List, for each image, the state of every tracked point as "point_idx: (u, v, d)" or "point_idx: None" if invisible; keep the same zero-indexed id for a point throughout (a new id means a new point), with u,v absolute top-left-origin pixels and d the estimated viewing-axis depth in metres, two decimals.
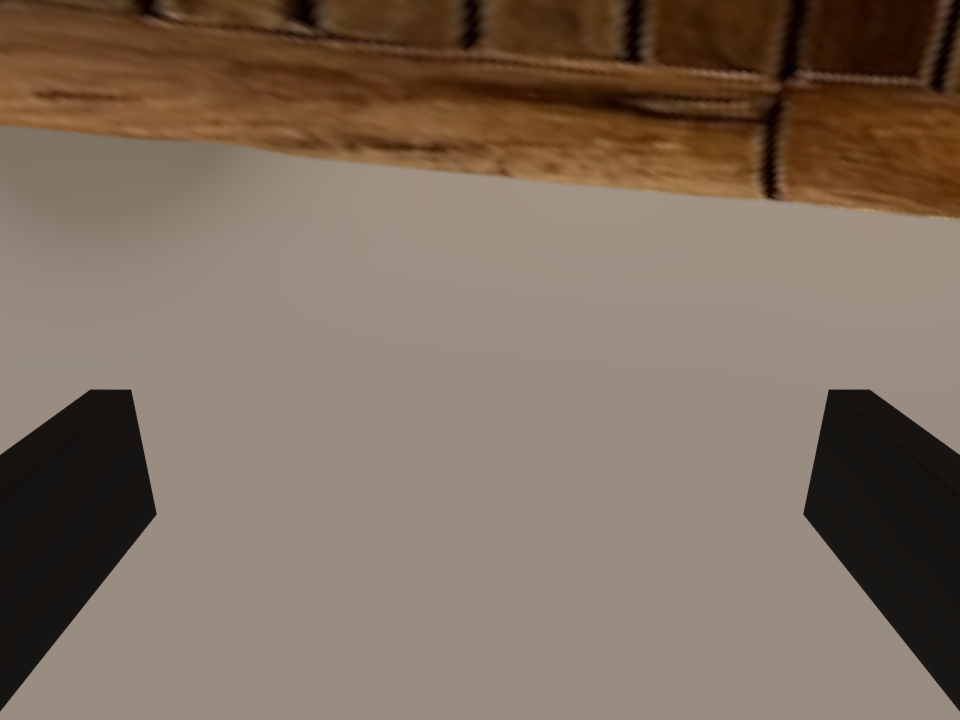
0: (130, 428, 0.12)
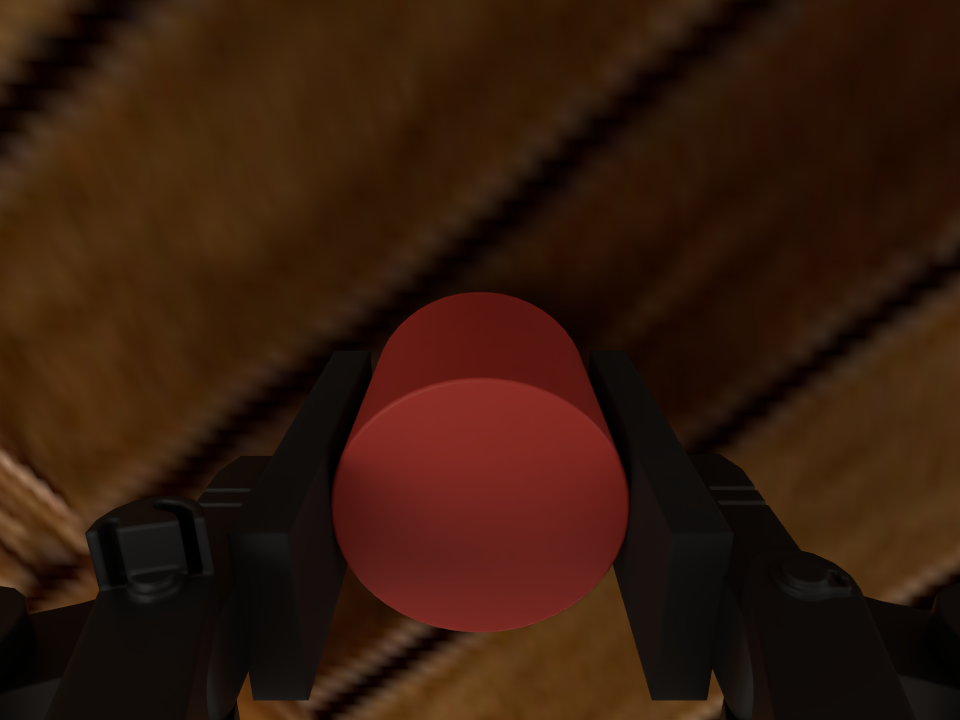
0: None
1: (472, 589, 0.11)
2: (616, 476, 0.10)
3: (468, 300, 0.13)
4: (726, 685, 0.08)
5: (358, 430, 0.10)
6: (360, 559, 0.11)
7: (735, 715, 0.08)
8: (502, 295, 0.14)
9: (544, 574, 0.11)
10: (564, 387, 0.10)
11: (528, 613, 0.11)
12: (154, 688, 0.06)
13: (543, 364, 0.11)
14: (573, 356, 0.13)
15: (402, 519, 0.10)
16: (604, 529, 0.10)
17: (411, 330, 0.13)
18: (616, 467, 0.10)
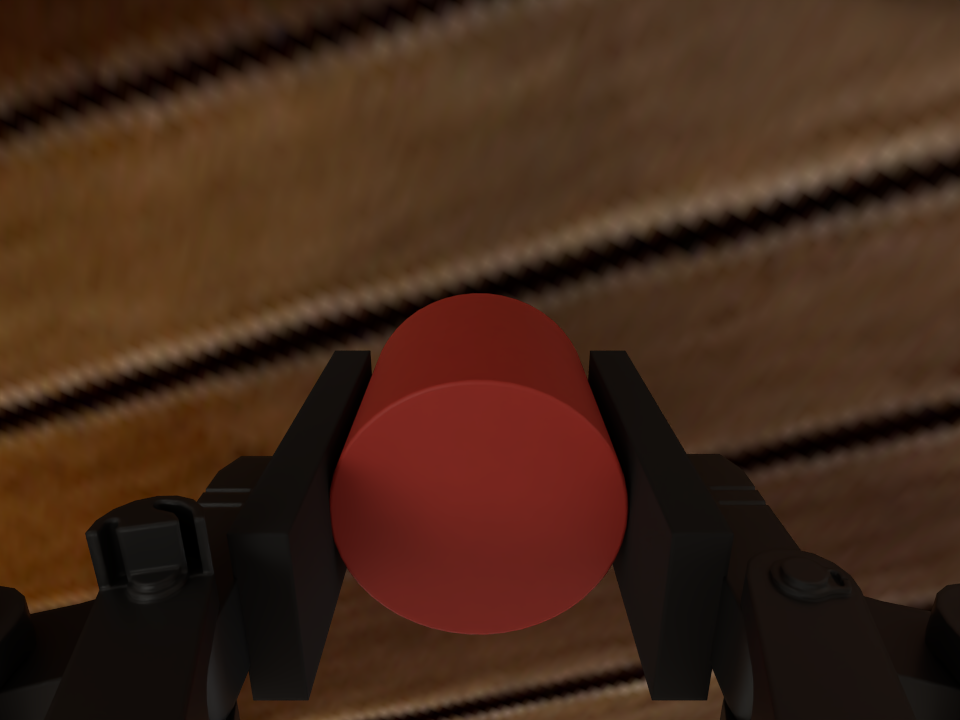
0: None
1: (470, 591, 0.11)
2: (615, 478, 0.10)
3: (467, 301, 0.13)
4: (726, 685, 0.08)
5: (356, 432, 0.10)
6: (358, 561, 0.11)
7: (734, 715, 0.08)
8: (501, 296, 0.14)
9: (542, 576, 0.11)
10: (562, 388, 0.10)
11: (527, 616, 0.11)
12: (154, 688, 0.06)
13: (542, 366, 0.11)
14: (572, 358, 0.13)
15: (401, 521, 0.10)
16: (603, 532, 0.10)
17: (410, 332, 0.13)
18: (615, 469, 0.10)
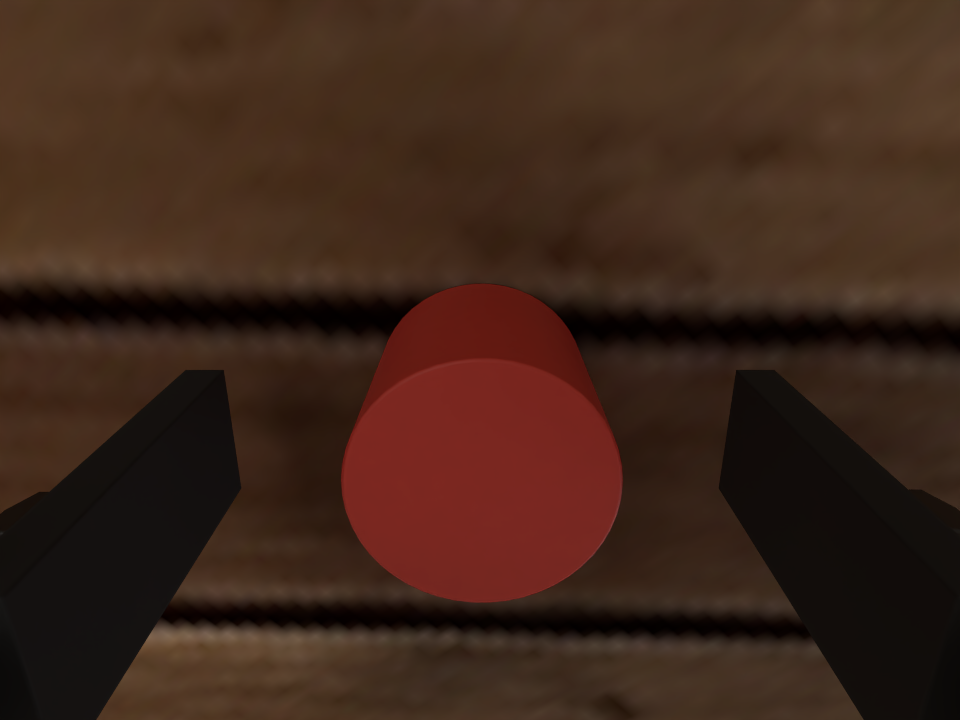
0: (223, 407, 0.13)
1: (474, 560, 0.12)
2: (610, 451, 0.11)
3: (470, 291, 0.14)
4: None
5: (368, 408, 0.11)
6: (369, 531, 0.11)
7: None
8: (502, 286, 0.14)
9: (542, 546, 0.11)
10: (560, 367, 0.11)
11: (527, 584, 0.12)
12: None
13: (541, 347, 0.11)
14: (570, 343, 0.13)
15: (408, 493, 0.11)
16: (598, 503, 0.11)
17: (416, 319, 0.13)
18: (610, 443, 0.11)
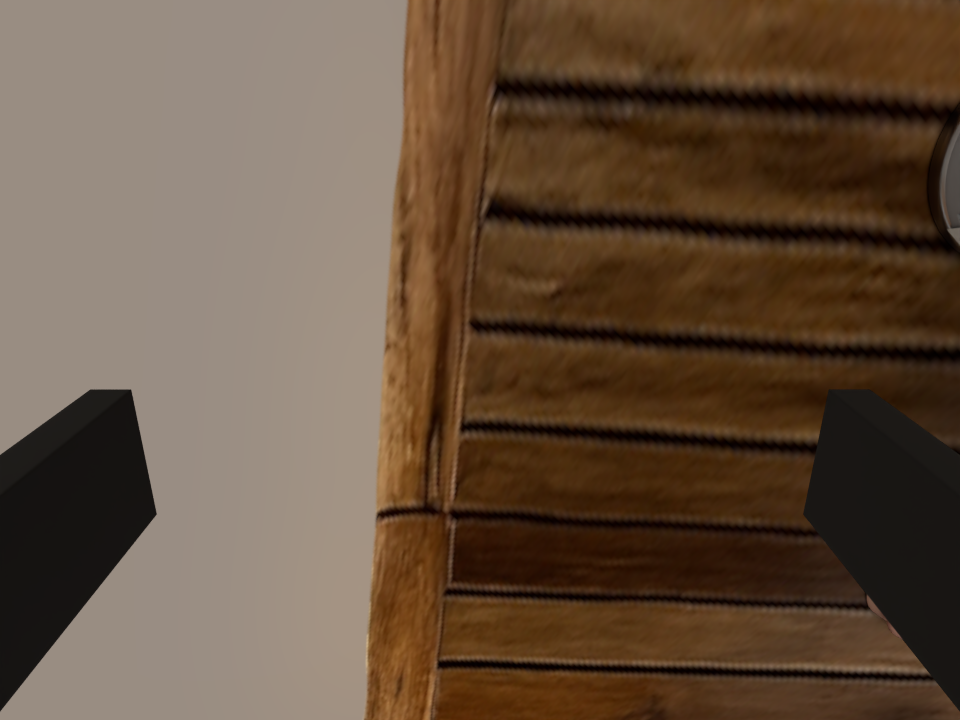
0: (130, 429, 0.12)
1: None
2: None
3: None
4: None
5: None
6: None
7: None
8: None
9: None
10: None
11: None
12: None
13: None
14: None
15: None
16: None
17: None
18: None
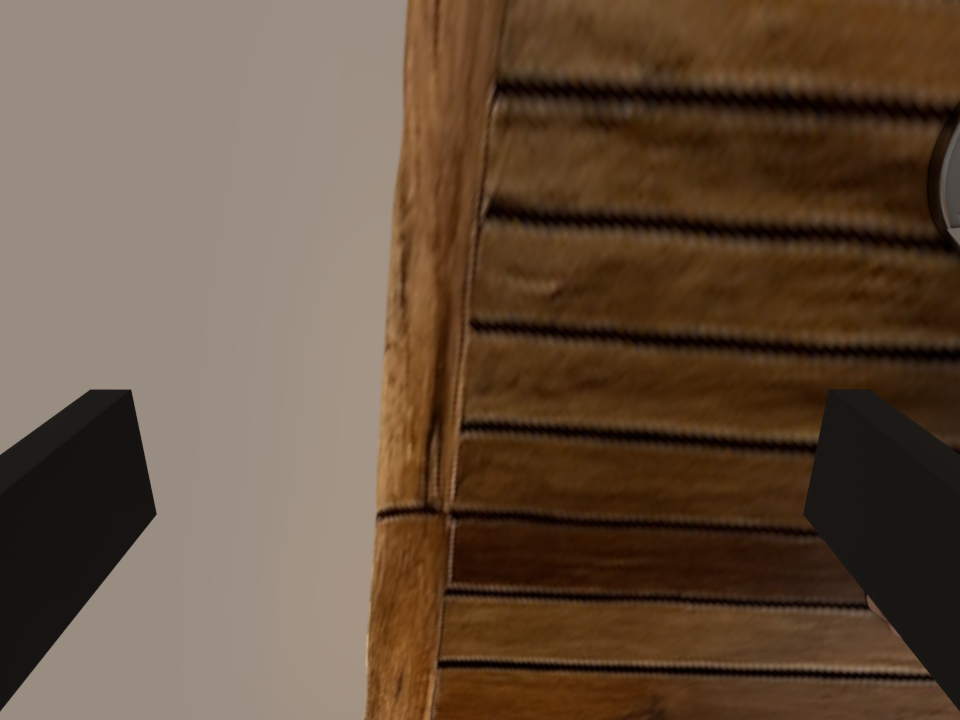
0: (130, 429, 0.12)
1: None
2: None
3: None
4: None
5: None
6: None
7: None
8: None
9: None
10: None
11: None
12: None
13: None
14: None
15: None
16: None
17: None
18: None
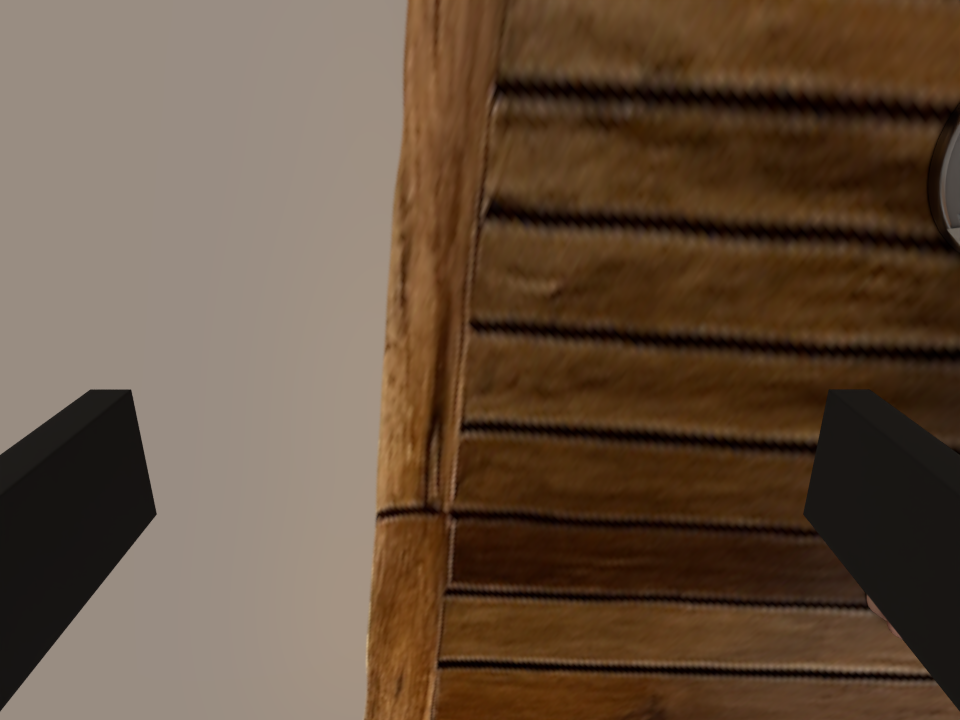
0: (130, 429, 0.12)
1: None
2: None
3: None
4: None
5: None
6: None
7: None
8: None
9: None
10: None
11: None
12: None
13: None
14: None
15: None
16: None
17: None
18: None
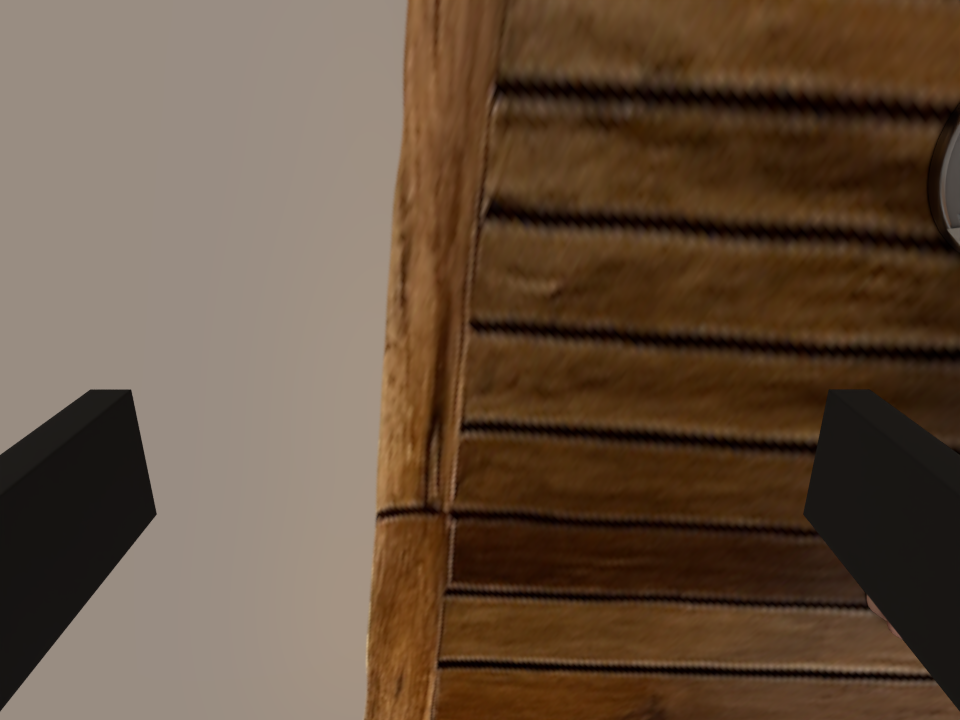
0: (130, 429, 0.12)
1: None
2: None
3: None
4: None
5: None
6: None
7: None
8: None
9: None
10: None
11: None
12: None
13: None
14: None
15: None
16: None
17: None
18: None
